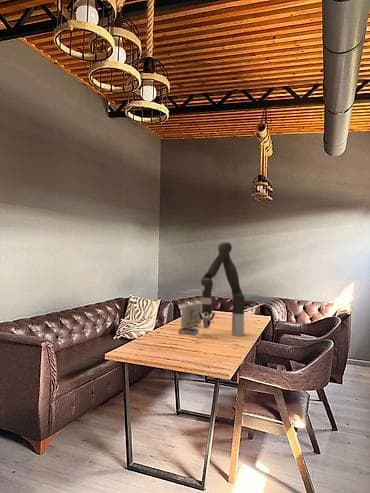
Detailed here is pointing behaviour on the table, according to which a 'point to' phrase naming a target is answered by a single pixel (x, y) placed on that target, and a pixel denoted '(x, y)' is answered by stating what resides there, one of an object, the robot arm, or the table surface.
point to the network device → (191, 315)
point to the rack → (188, 331)
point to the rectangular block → (206, 323)
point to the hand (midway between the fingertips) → (206, 325)
